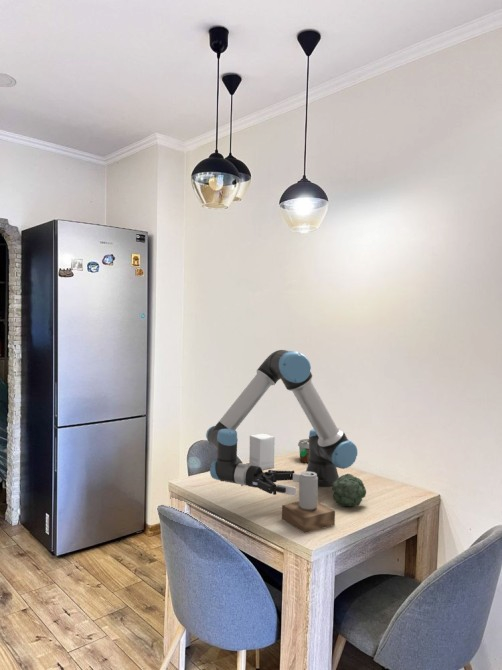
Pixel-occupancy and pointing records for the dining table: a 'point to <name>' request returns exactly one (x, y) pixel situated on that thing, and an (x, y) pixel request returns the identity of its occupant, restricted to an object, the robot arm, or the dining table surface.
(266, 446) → the supplement box
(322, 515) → the walnut block
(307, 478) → the beverage can
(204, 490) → the dining table surface
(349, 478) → the vegetable
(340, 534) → the dining table surface
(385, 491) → the dining table surface
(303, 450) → the food container
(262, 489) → the robot arm
